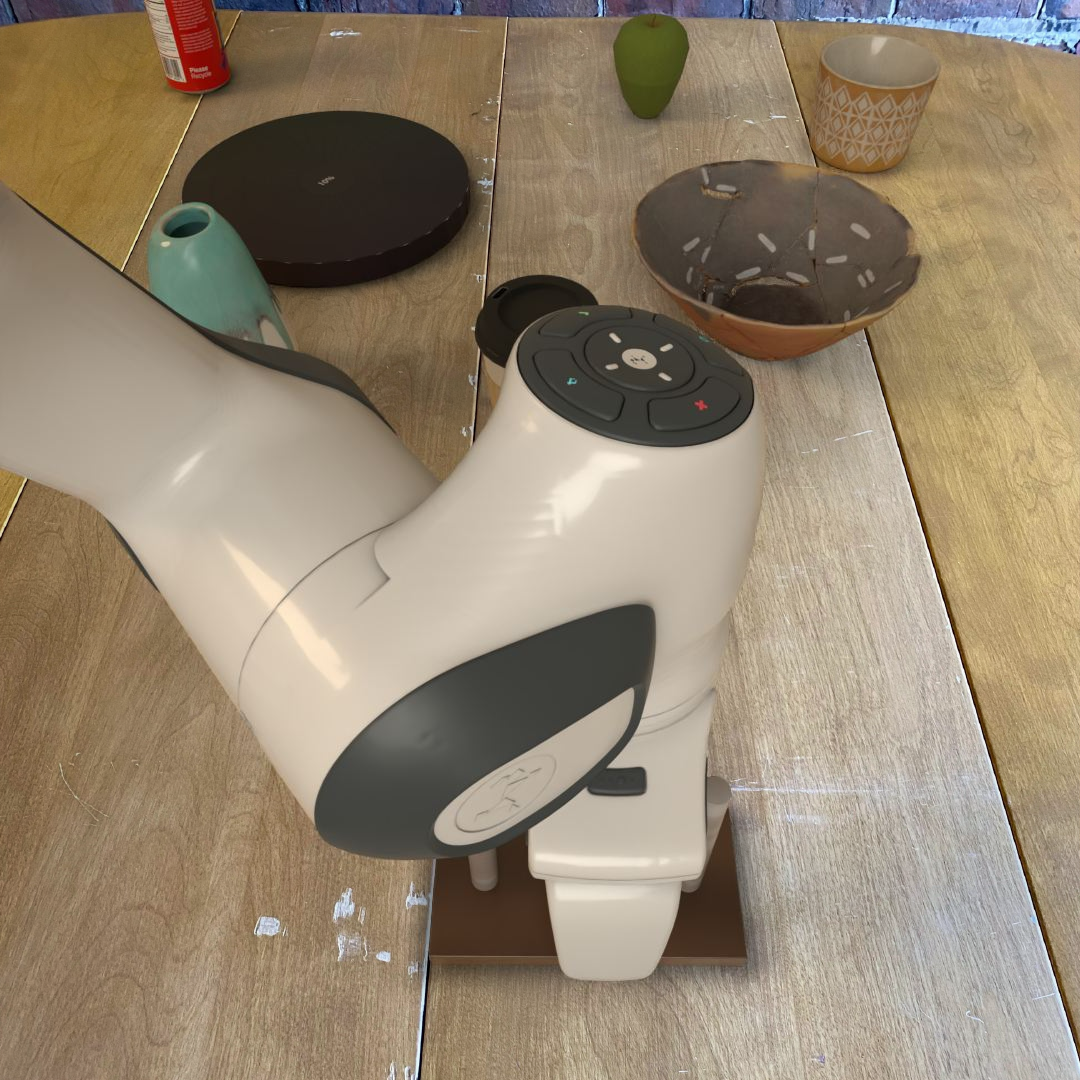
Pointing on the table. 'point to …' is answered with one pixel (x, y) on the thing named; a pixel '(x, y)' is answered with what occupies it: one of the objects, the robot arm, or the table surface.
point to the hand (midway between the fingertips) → (594, 805)
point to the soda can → (189, 44)
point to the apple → (650, 61)
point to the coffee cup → (520, 317)
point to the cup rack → (523, 913)
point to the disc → (335, 194)
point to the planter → (870, 100)
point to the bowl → (775, 254)
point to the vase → (213, 277)
